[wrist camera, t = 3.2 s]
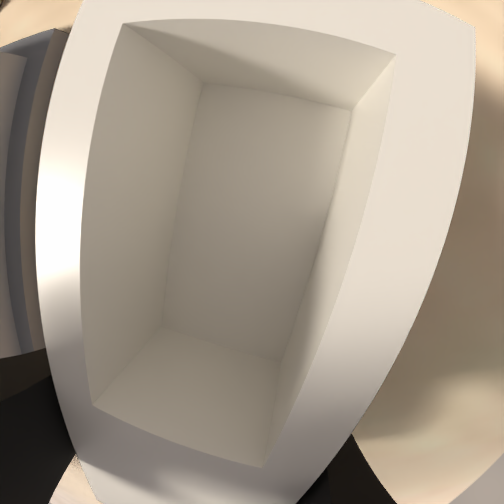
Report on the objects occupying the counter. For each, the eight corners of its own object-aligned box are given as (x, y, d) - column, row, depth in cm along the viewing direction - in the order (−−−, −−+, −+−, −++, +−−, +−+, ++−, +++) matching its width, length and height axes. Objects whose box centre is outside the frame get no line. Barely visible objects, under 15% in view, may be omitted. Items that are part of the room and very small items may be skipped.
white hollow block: (386, 100, 7) (475, 27, 2) (266, 457, 11) (245, 552, 6) (194, 62, 7) (91, -18, 3) (147, 420, 11) (97, 500, 7)
